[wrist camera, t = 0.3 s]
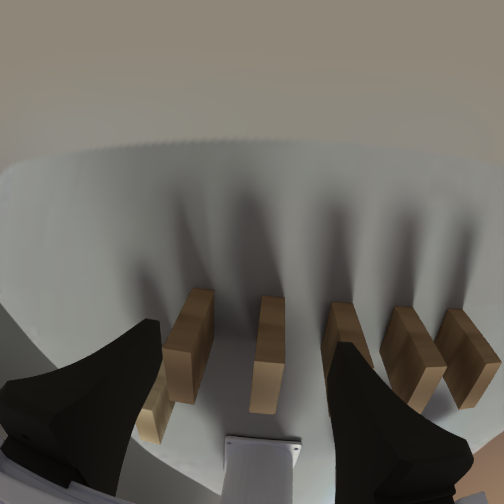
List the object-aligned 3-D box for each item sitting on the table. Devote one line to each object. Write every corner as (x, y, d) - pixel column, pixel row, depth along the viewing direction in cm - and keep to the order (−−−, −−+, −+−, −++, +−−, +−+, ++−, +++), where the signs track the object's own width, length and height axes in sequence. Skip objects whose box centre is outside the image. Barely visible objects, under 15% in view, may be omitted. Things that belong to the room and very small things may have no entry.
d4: (277, 345, 24) (274, 414, 18) (257, 343, 24) (248, 412, 18) (284, 297, 23) (284, 363, 16) (262, 295, 23) (254, 361, 16)
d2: (396, 351, 24) (420, 414, 17) (379, 351, 24) (400, 415, 17) (412, 307, 22) (447, 366, 16) (394, 306, 22) (426, 367, 16)
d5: (213, 338, 25) (194, 404, 18) (193, 336, 25) (169, 400, 18) (214, 290, 23) (190, 352, 16) (192, 287, 23) (162, 348, 17)
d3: (340, 350, 24) (353, 417, 18) (320, 349, 24) (329, 417, 18) (352, 303, 22) (374, 368, 16) (331, 301, 22) (347, 367, 16)
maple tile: (181, 384, 27) (160, 444, 21) (164, 381, 27) (140, 439, 21) (178, 348, 25) (152, 410, 19) (160, 345, 25) (130, 405, 19)
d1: (444, 351, 24) (474, 407, 17) (430, 351, 24) (458, 409, 17) (462, 309, 22) (501, 362, 15) (447, 308, 22) (486, 363, 16)
